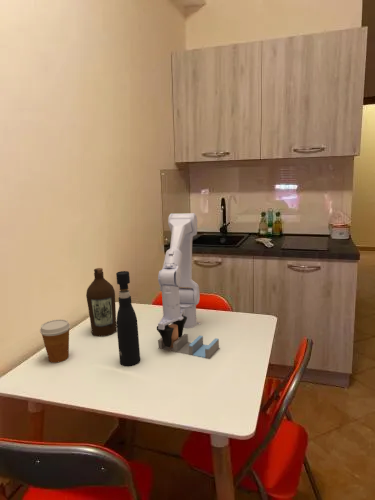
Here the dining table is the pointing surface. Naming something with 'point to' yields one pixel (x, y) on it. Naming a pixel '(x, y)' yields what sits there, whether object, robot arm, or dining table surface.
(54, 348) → the disposable coffee cup
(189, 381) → the dining table surface
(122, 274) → the wine bottle
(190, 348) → the grey slotted rack
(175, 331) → the tan rounded cylinder
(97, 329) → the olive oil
